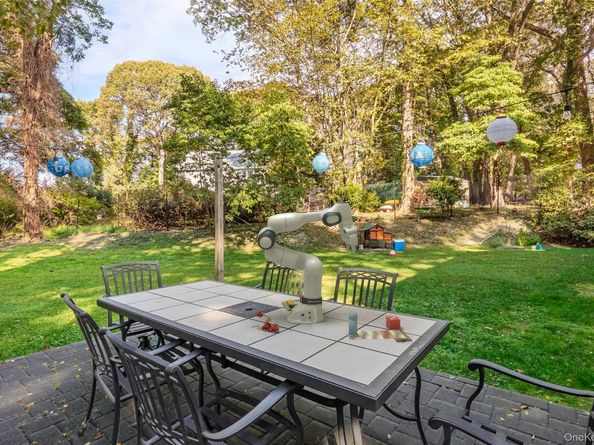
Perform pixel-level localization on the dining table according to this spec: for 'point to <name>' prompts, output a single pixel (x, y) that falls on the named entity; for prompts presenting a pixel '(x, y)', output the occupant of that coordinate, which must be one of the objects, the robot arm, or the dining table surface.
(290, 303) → the wooden puzzle
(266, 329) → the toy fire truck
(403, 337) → the game track
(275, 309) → the dining table surface
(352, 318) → the pawn
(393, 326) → the red die
